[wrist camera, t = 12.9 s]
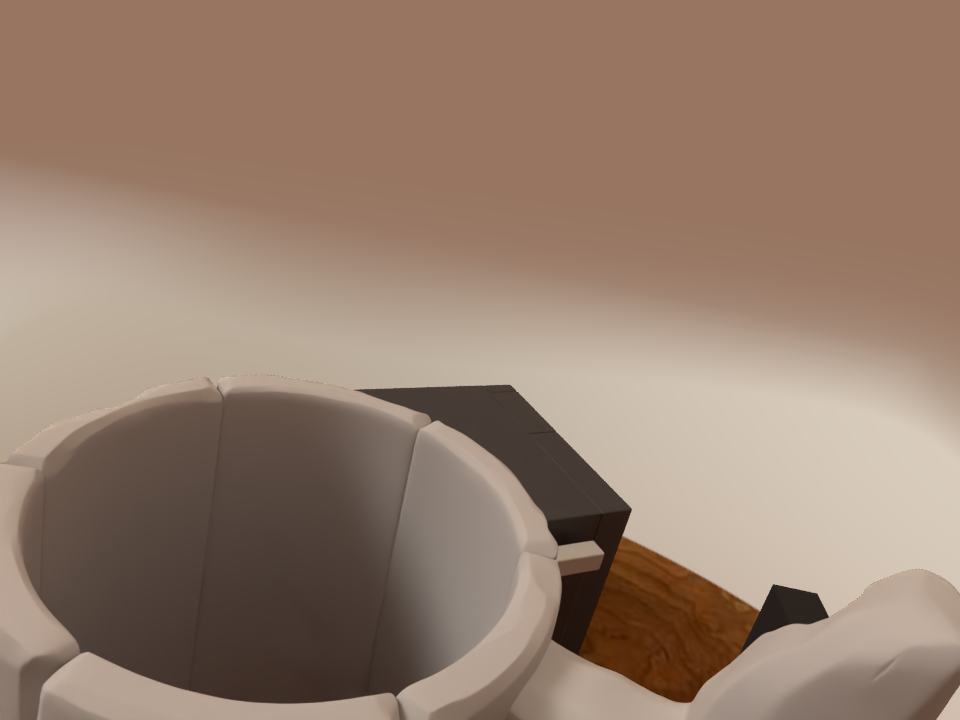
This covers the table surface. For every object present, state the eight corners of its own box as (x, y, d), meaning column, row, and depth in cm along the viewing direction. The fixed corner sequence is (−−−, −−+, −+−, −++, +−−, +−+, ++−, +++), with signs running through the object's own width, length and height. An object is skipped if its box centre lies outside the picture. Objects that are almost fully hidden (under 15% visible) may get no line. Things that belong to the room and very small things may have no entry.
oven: (580, 716, 35) (653, 529, 31) (386, 772, 30) (442, 562, 26) (465, 547, 44) (510, 383, 39) (301, 571, 39) (332, 389, 35)
